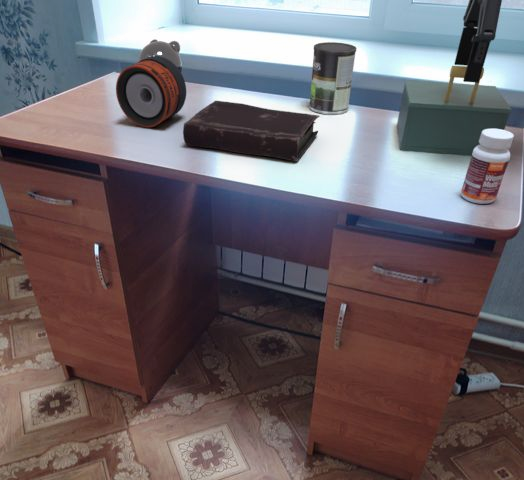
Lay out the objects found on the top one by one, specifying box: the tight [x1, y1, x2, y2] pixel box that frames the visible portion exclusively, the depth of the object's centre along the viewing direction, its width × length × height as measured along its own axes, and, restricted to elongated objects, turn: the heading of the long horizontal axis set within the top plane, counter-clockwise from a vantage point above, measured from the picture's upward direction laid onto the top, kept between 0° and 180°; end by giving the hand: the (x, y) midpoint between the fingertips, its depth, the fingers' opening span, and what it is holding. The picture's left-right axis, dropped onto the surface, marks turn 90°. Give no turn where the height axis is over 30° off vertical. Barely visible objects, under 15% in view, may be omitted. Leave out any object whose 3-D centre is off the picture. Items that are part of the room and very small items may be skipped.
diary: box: [182, 100, 320, 162], centre depth 110 cm, size 19×25×5 cm
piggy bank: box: [138, 38, 183, 73], centre depth 138 cm, size 11×15×12 cm
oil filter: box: [115, 56, 187, 128], centre depth 116 cm, size 13×12×13 cm
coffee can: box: [308, 41, 358, 116], centre depth 126 cm, size 10×10×14 cm
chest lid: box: [404, 65, 513, 114], centre depth 106 cm, size 18×20×7 cm
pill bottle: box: [460, 129, 515, 205], centre depth 88 cm, size 6×6×11 cm
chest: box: [396, 84, 511, 157], centre depth 112 cm, size 17×20×9 cm
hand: (465, 73), depth 99 cm, fingers open, 13 cm apart
